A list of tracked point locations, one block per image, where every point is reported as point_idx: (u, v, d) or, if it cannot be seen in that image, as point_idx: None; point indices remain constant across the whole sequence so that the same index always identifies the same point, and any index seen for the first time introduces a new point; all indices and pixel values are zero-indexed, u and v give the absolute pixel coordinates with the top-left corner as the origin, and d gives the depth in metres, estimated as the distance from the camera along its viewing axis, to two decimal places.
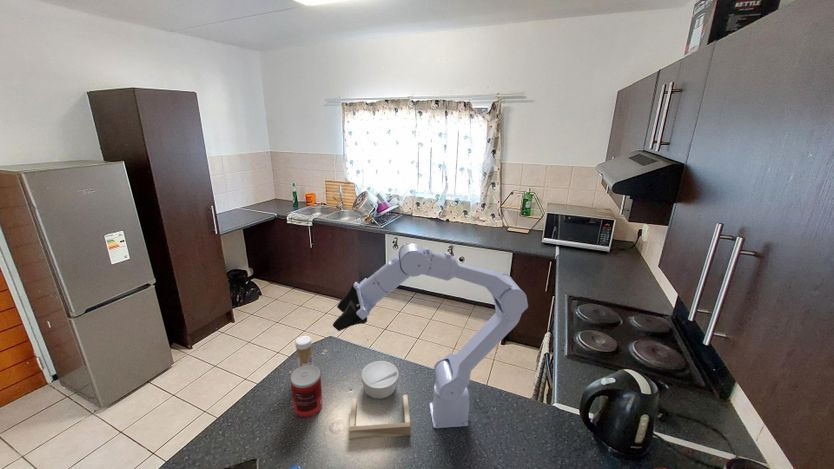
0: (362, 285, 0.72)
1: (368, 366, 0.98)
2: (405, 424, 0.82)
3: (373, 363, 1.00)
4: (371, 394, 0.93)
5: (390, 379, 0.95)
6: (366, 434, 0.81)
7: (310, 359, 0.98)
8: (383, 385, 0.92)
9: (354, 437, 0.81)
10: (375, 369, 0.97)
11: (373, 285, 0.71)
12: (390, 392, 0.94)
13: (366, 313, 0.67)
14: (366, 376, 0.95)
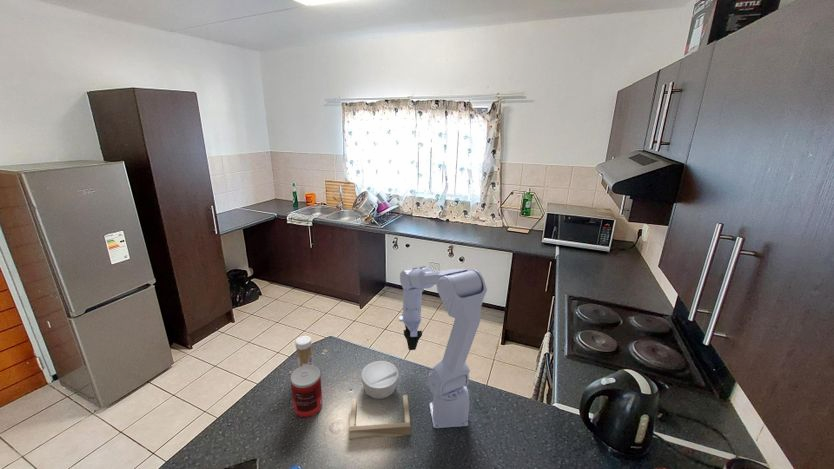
0: (403, 316, 0.99)
1: (368, 366, 0.98)
2: (405, 424, 0.82)
3: (373, 363, 1.00)
4: (371, 394, 0.93)
5: (390, 379, 0.95)
6: (366, 434, 0.81)
7: (310, 359, 0.98)
8: (383, 385, 0.92)
9: (354, 437, 0.81)
10: (375, 369, 0.97)
11: (407, 312, 0.97)
12: (390, 392, 0.94)
13: (415, 332, 0.94)
14: (366, 376, 0.95)
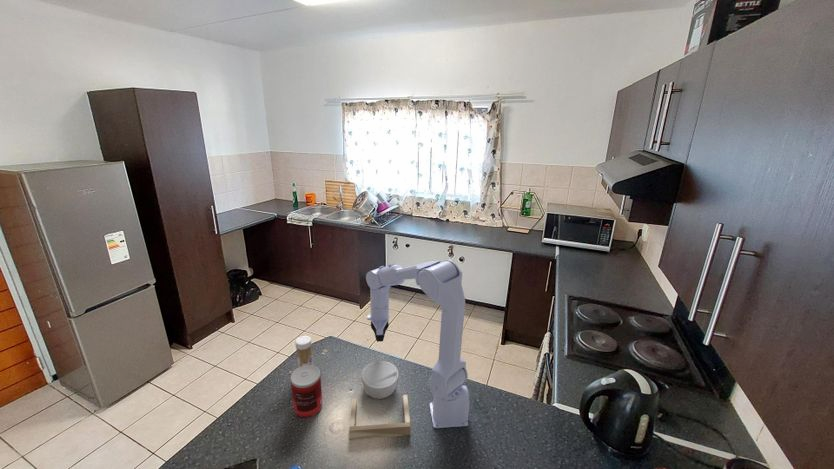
0: (370, 314, 1.01)
1: (368, 366, 0.98)
2: (405, 424, 0.82)
3: (373, 363, 1.00)
4: (371, 394, 0.93)
5: (390, 379, 0.95)
6: (366, 434, 0.81)
7: (310, 359, 0.98)
8: (383, 385, 0.92)
9: (354, 437, 0.81)
10: (375, 369, 0.97)
11: (374, 310, 0.99)
12: (390, 392, 0.94)
13: (380, 330, 0.95)
14: (366, 376, 0.95)
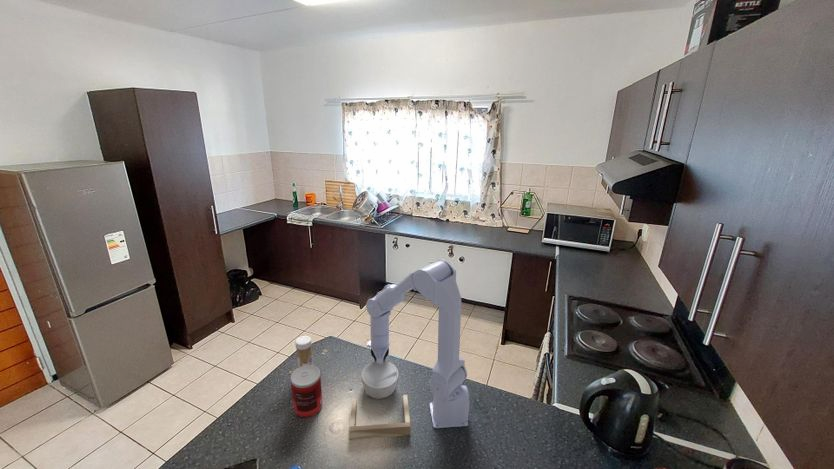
0: (371, 341, 1.00)
1: (368, 366, 0.98)
2: (405, 424, 0.82)
3: (373, 363, 1.00)
4: (371, 394, 0.92)
5: (390, 379, 0.94)
6: (366, 434, 0.81)
7: (310, 359, 0.98)
8: (383, 385, 0.92)
9: (354, 437, 0.81)
10: (375, 369, 0.97)
11: (374, 338, 0.97)
12: (390, 392, 0.94)
13: (381, 359, 0.94)
14: (366, 376, 0.95)
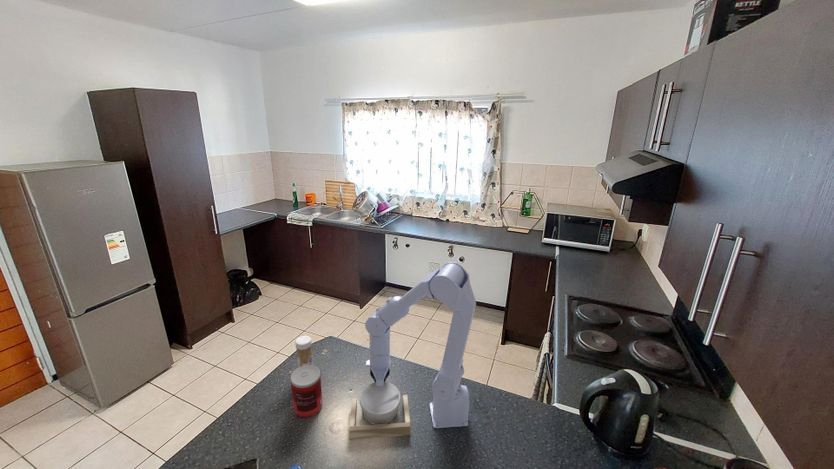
0: (370, 361, 0.91)
1: (367, 388, 0.90)
2: (405, 424, 0.82)
3: (372, 384, 0.91)
4: (371, 420, 0.84)
5: (392, 403, 0.86)
6: (366, 434, 0.81)
7: (310, 359, 0.98)
8: (384, 410, 0.84)
9: (354, 437, 0.81)
10: (374, 391, 0.89)
11: (373, 357, 0.89)
12: (391, 417, 0.85)
13: (381, 381, 0.86)
14: (365, 400, 0.86)
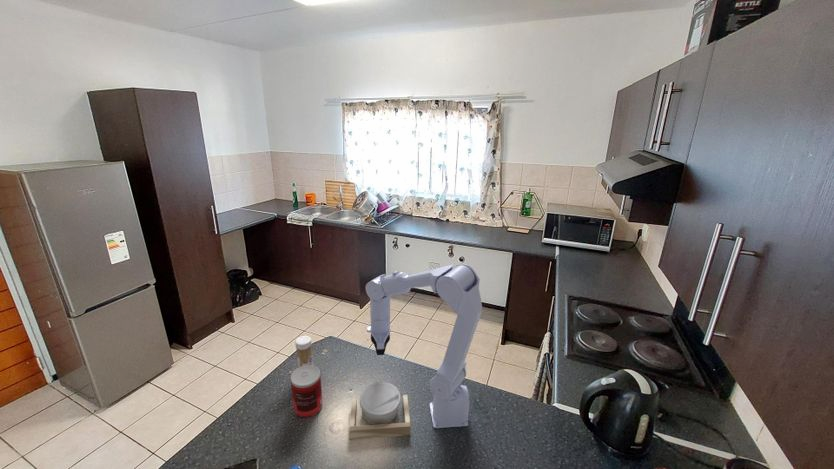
0: (370, 326, 0.94)
1: (367, 388, 0.90)
2: (405, 424, 0.82)
3: (372, 385, 0.91)
4: (371, 421, 0.84)
5: (392, 403, 0.86)
6: (366, 434, 0.81)
7: (310, 359, 0.98)
8: (384, 410, 0.84)
9: (354, 437, 0.81)
10: (374, 392, 0.89)
11: (374, 322, 0.91)
12: (391, 418, 0.85)
13: (381, 344, 0.88)
14: (365, 400, 0.86)
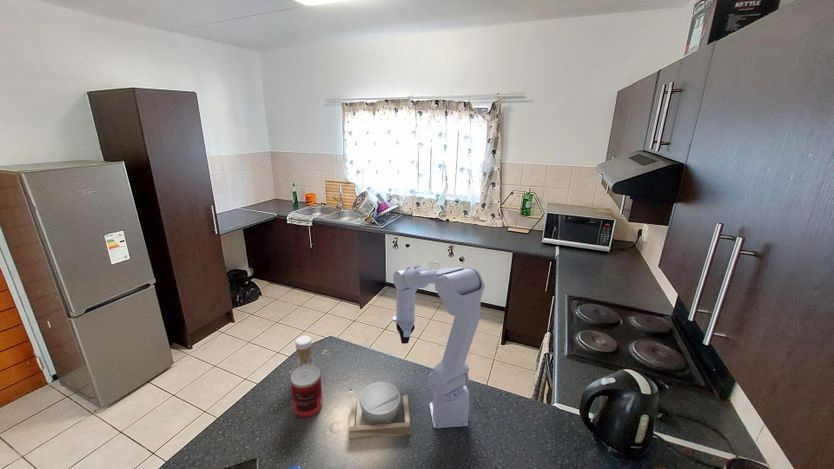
0: (396, 316, 0.99)
1: (367, 388, 0.90)
2: (405, 424, 0.82)
3: (372, 385, 0.91)
4: (371, 420, 0.84)
5: (392, 403, 0.86)
6: (366, 434, 0.81)
7: (310, 359, 0.98)
8: (384, 410, 0.84)
9: (354, 437, 0.81)
10: (374, 392, 0.89)
11: (400, 312, 0.97)
12: (391, 418, 0.85)
13: (408, 332, 0.94)
14: (365, 400, 0.86)
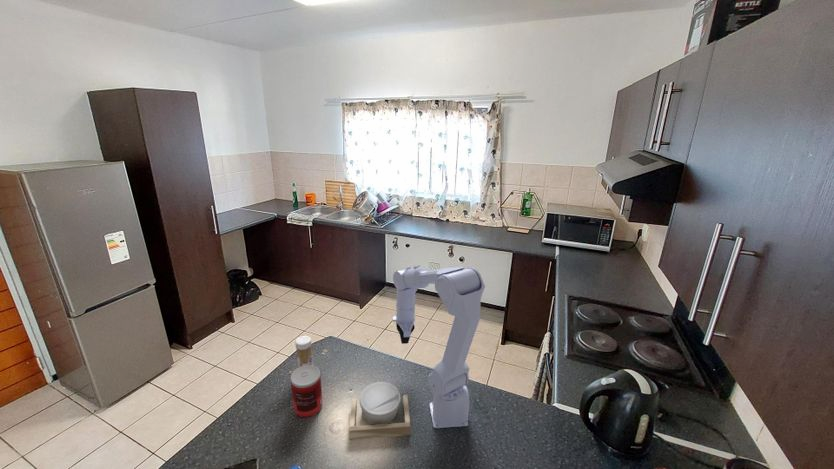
0: (396, 316, 0.99)
1: (367, 388, 0.90)
2: (405, 424, 0.82)
3: (372, 385, 0.91)
4: (371, 421, 0.84)
5: (392, 403, 0.86)
6: (366, 434, 0.81)
7: (310, 359, 0.98)
8: (384, 410, 0.84)
9: (354, 437, 0.81)
10: (374, 392, 0.89)
11: (400, 312, 0.97)
12: (391, 418, 0.85)
13: (408, 332, 0.94)
14: (365, 400, 0.86)
